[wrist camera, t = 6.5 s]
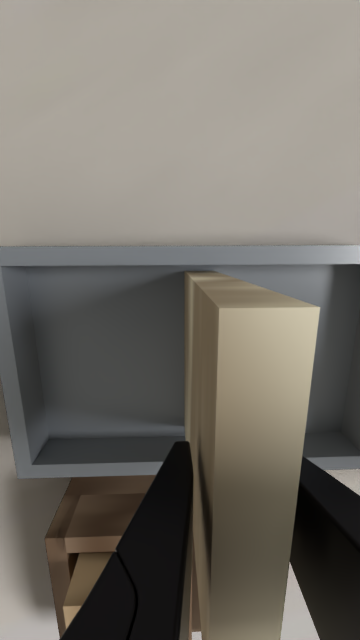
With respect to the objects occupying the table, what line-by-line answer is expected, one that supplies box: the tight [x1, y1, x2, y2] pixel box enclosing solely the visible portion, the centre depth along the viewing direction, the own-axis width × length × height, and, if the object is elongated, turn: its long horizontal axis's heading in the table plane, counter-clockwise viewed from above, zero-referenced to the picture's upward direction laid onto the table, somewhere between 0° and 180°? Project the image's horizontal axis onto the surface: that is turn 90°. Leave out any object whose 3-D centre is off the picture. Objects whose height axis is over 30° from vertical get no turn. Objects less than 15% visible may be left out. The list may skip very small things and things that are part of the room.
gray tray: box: [0, 245, 360, 479], centre depth 14 cm, size 19×12×3 cm, turn 90°
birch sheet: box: [184, 271, 320, 640], centre depth 10 cm, size 2×9×10 cm, turn 0°
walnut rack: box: [45, 475, 201, 640], centre depth 17 cm, size 12×12×4 cm
